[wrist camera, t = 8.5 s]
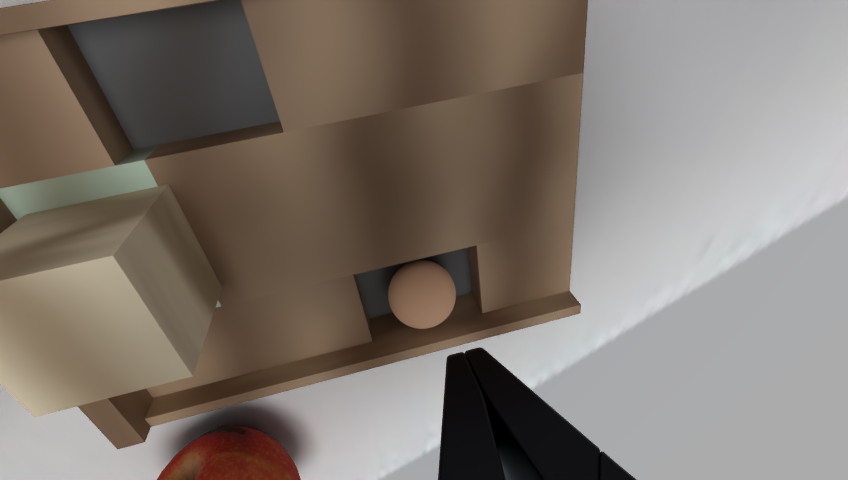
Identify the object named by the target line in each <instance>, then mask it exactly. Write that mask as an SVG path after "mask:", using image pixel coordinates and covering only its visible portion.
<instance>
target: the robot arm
mask: <svg viewBox="0 0 848 480" xmlns="http://www.w3.org/2000/svg"><path fill="white" fill-rule="evenodd" d="M438 480H636V479H635V478H634V477H633V476H631V475H630V474H629V473H628V472H626V471H625V470H624V469H623V468H622V467H620V466H619V465H618V464H617V463H615V462H614V461H613V460H612V459H611V458H610V457H609V456H607V455H606V454H605V453H604V452H600V450H599V448H598V447H597V446H596V445H595V444H593V443H592V442H591V441H590V440H589V439H588V438H586V437H585V436H584V435H583V434H582V433H581V432H580V431H578V430H577V429H576V428H575V427H574V426H573V425H571V424H570V423H569V422H568V421H566V419H564V418H563V417H562V416H561V415H560V414H559V413H557V412H556V411H555V410H554V409H553V408H552V407H551V406H549V405H548V404H547V403H546V402H545V401H543V400H542V399H541V398H540V397H539V396H538V395H536V394H535V393H534V392H533V391H532V390H531V389H530V388H528V387H527V386H526V385H525V384H524V383H523V382H521V381H520V380H519V379H518V378H517V377H516V376H514V375H513V374H512V373H511V372H510V371H509V370H508V369H506V368H505V367H504V366H503V365H502V364H501V363H499V362H498V361H497V360H496V359H495V358H494V357H492V356H491V355H490V354H489V353H488V352H487V351H485V350H484V349H483V348H475V349H471V350H468V351H466V352H465V354H464V353H463V352H460V353H456V354H452V355H449V356H448V357H447V363H446V377H445V391H444V404H443V418H442V432H441V446H440V460H439V474H438Z"/></svg>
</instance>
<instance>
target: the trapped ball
mask: <svg viewBox="0 0 848 480" xmlns="http://www.w3.org/2000/svg"><path fill="white" fill-rule="evenodd" d="M388 300H389V304H390V307H391V310H392V311H393V313H394V315H395V316H396V317H397V318H398V319H399V320H400V321H401V322H403V323H404V324H405V325H407V326H410V327H413V328H418V329H427V328H431V327H434V326H437V325H439V324H440V323H442V322H443V321H444V320H445V319H446V318H447V317H448V316H449V315H450V313H451V311H452V310H453V307H454V304H455V300H456V289H455V285H454V282H453V279H452V278H451V276H450V274H449V273H448V272H447V271H446V270H445V269H444V268H443V267H441V266H440V265H438V264H436V263H434V262H431V261H426V260H420V261H413V262H410V263H408V264H406V265H404V266H403V267H401V268H400V269H399V270H398V271H397V272H396V273H395V275H394V276H393V278H392V280H391V282H390V285H389V289H388Z"/></svg>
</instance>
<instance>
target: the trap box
mask: <svg viewBox="0 0 848 480" xmlns="http://www.w3.org/2000/svg"><path fill="white" fill-rule="evenodd" d="M587 7H588V0H49V1H43V2H36V3H30V4H23V5H17V6H11V7H4V8H0V233H2V232H3V231H4V230H6V229H7V228H8V227H10V226H11V225H12V224H13V223H15V222H16V221H17V220H19V219H20V218H21V217H23V216H24V215H25V214H29V213H34V212H38V211H43V210H48V209H53V208H57V207H62V206H67V205H72V204H77V203H81V202H86V201H91V200H96V199H100V198H105V197H110V196H115V195H120V194H124V193H129V192H134V191H139V190H143V189H148V188H153V187H158V186H163V185H167V184H169V186H170V188H171V190H172V192H173V194H174V196H175V198H176V200H177V201H178V203H179V205H180V207H181V209H182V211H183V213H184V215H185V217H186V219H187V221H188V223H189V225H190V227H191V229H192V231H193V232H194V234H195V236H196V238H197V240H198V242H199V244H200V246H201V248H202V250H203V252H204V254H205V256H206V258H207V260H208V261H209V263H210V265H211V267H212V269H213V271H214V273H215V275H216V277H217V279H218V281H219V283H220V285H221V287H222V289H221V292H220V295H219V298H218V301H217V304H216V308H215V311H214V314H213V317H212V320H211V323H210V326H209V329H208V332H207V335H206V338H205V341H204V344H203V347H202V350H201V353H200V356H199V359H198V362H197V365H196V368H195V371H194V374H193V376H192V377H189V378H185V379H181V380H177V381H173V382H169V383H165V384H161V385H157V386H154V387H150V388H146V389H142V390H138V391H134V392H130V393H126V394H122V395H119V396H115V397H111V398H107V399H103V400H99V401H95V402H91V403H87V404H84V405H80V406H78V407H79V408H80V409H81V411H82V412H83V413H84V414H85V415H86V416H87V417H88V418H89V419H90V420H91V421H92V422H93V423H94V424H95V426H96V427H97V428H98V429H99V430H100V431H101V432H102V433H103V434H104V435H105V436H106V437H107V438H108V440H109V441H110V442H111V443H112V444H113V445H114V446H115V447H116V448H117V449H120V448H124V447H128V446H132V445H135V444H139V443H143V442H145V440H146V438H147V435H148V433H149V430H150V427H151V426H155V425H159V424H163V423H167V422H170V421H174V420H178V419H182V418H186V417H189V416H193V415H197V414H201V413H204V412H208V411H212V410H216V409H220V408H223V407H227V406H231V405H235V404H239V403H242V402H246V401H250V400H254V399H258V398H261V397H265V396H269V395H273V394H276V393H280V392H284V391H288V390H292V389H295V388H299V387H303V386H307V385H311V384H314V383H318V382H322V381H326V380H329V379H333V378H337V377H341V376H345V375H348V374H352V373H356V372H360V371H364V370H367V369H371V368H375V367H379V366H383V365H386V364H390V363H394V362H398V361H401V360H405V359H409V358H413V357H417V356H420V355H424V354H428V353H432V352H436V351H439V350H443V349H447V348H451V347H454V346H458V345H462V344H466V343H470V342H473V341H477V340H481V339H485V338H489V337H492V336H496V335H500V334H504V333H507V332H511V331H515V330H519V329H523V328H526V327H530V326H534V325H538V324H542V323H545V322H549V321H553V320H557V319H561V318H564V317H568V316H572V315H576V314H579V313H580V309H581V304H580V303H579V302H578V301H577V300H576V298H575V297H574V296H573V295H572V294H571V292H570V291H569V289H570V274H571V258H572V242H573V226H574V211H575V195H576V179H577V164H578V148H579V132H580V116H581V101H582V85H583V69H584V54H585V38H586V22H587ZM420 260H426V261H431V262H434V263H436V264H438V265H440V266H441V267H443V268H444V269H445V270H446V271H447V272H448V273H449V274H450V276H451V278H452V279H453V282H454V285H455V289H456V300H455V304H454V307H453V310H452V311H451V313H450V315H449V316H448V317H447V318H446V319H445V320H444V321H443V322H442V323H440V324H439V325H437V326H434V327H431V328H427V329H418V328H413V327H410V326H407V325H405V324H404V323H403V322H401V321H400V320H399V319H398V318H397V317H396V316H395V315H394V313H393V311H392V310H391V307H390V304H389V300H388V289H389V285H390V282H391V280H392V278H393V276H394V275H395V273H396V272H397V271H398V270H399V269H400V268H401V267H403V266H404V265H406V264H408V263H410V262H413V261H420Z"/></svg>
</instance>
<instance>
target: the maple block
mask: <svg viewBox="0 0 848 480" xmlns="http://www.w3.org/2000/svg"><path fill="white" fill-rule="evenodd" d="M221 289H222V287H221V285H220V283H219V281H218V279H217V277H216V275H215V273H214V271H213V269H212V267H211V265H210V263H209V261H208V260H207V258H206V256H205V254H204V252H203V250H202V248H201V246H200V244H199V242H198V240H197V238H196V236H195V234H194V232H193V231H192V229H191V227H190V225H189V223H188V221H187V219H186V217H185V215H184V213H183V211H182V209H181V207H180V205H179V203H178V201H177V200H176V198H175V196H174V194H173V192H172V190H171V188H170V186H169V184H167V185H163V186H158V187H153V188H148V189H143V190H139V191H134V192H129V193H124V194H120V195H115V196H110V197H105V198H100V199H96V200H91V201H86V202H81V203H77V204H72V205H67V206H62V207H57V208H53V209H48V210H43V211H38V212H34V213H29V214H25V215H24V216H23V217H21V218H20V219H19V220H17V221H16V222H15V223H13V224H12V225H11V226H10V227H8V228H7V229H6V230H4V231H3V232H2V233H0V384H1V385H2V386H3V387H4V388H5V389H6V390H7V391H8V392H9V393H10V394H11V395H12V396H13V397H14V398H15V399H16V400H17V401H18V402H19V403H20V404H22V405H23V406H24V407H25V408H26V409H27V410H28V411H29V412H30V413H31V414H32V415H33V416H34V417H37V416H41V415H45V414H49V413H52V412H56V411H60V410H64V409H68V408H72V407H76V406H80V405H84V404H87V403H91V402H95V401H99V400H103V399H107V398H111V397H115V396H119V395H122V394H126V393H130V392H134V391H138V390H142V389H146V388H150V387H154V386H157V385H161V384H165V383H169V382H173V381H177V380H181V379H185V378H189V377H192V376H193V374H194V371H195V368H196V365H197V362H198V359H199V356H200V353H201V350H202V347H203V344H204V341H205V338H206V335H207V332H208V329H209V326H210V323H211V320H212V317H213V314H214V311H215V308H216V304H217V301H218V298H219V295H220V292H221Z"/></svg>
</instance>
